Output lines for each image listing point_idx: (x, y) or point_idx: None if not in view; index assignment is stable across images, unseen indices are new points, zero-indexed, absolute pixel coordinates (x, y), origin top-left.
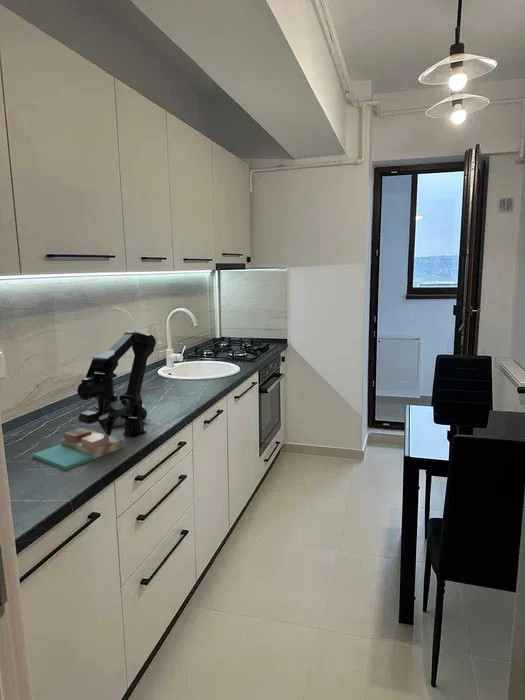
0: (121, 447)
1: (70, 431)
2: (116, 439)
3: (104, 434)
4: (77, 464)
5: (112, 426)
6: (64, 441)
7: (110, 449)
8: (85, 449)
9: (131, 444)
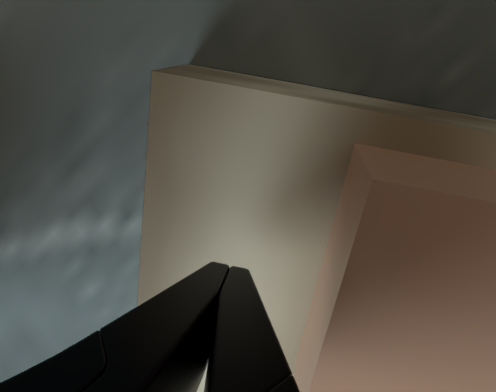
0: (201, 67)
1: None
2: (184, 157)
3: None
4: None
5: (118, 328)
6: None
7: (363, 99)
8: None
9: (64, 41)
